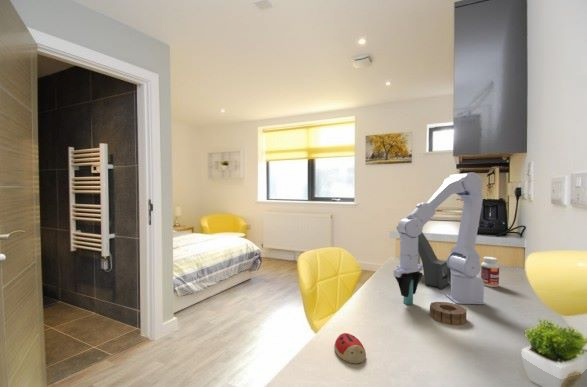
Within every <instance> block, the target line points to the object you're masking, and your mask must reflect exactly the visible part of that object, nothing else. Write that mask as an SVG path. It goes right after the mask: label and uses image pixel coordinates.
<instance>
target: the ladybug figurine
mask: <svg viewBox="0 0 587 387" xmlns="http://www.w3.org/2000/svg"><path fill="white" fill-rule="evenodd" d="M333 348H334V351H335V353H336V355H337V356H338V357H339V358H340V359H341V360H343V361H345V362H347V363H349V364H357V365H358V364H361V363H363V362H364V361H365V359H366V357H367V352H366V349H365V346H364V345H363V344H362V342H361V341H360V340H359V339H358V338H357V337H356V336H354V335H353V334H350V333H349V332H347V333H345V332H344V333H341V334H339V336H337V337H336V339H335V342H334V346H333Z"/></svg>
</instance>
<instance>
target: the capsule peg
mask: <svg viewBox="0 0 587 387" xmlns="http://www.w3.org/2000/svg"><path fill="white" fill-rule="evenodd" d="M402 302H403V304H404V305H407V306H412V305H414V294H413V279H412V280H411V283H410V287H409V295H408V297H405V296H403V301H402Z"/></svg>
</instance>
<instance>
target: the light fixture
mask: <svg viewBox="0 0 587 387" xmlns="http://www.w3.org/2000/svg"><path fill="white" fill-rule="evenodd" d="M418 252H419V255H420V261H421V263H422V264H421V265H423V270H422V271H423V281H424V285H425V286H432V287H437V288H438V289H439V290H444V289H446V288H447V287H448V286H451V272H450V268H449V267H448V266H447V259H446V260H442V259H439V258H438V257H437V256H436V254H435V253H436V252H435V251H434V250H433V247H432V246H431V244H430V242H429V240H428V239H427V237H426V236H425V234H424V233H423V232H422V233H421V234H420V235H418Z"/></svg>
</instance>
